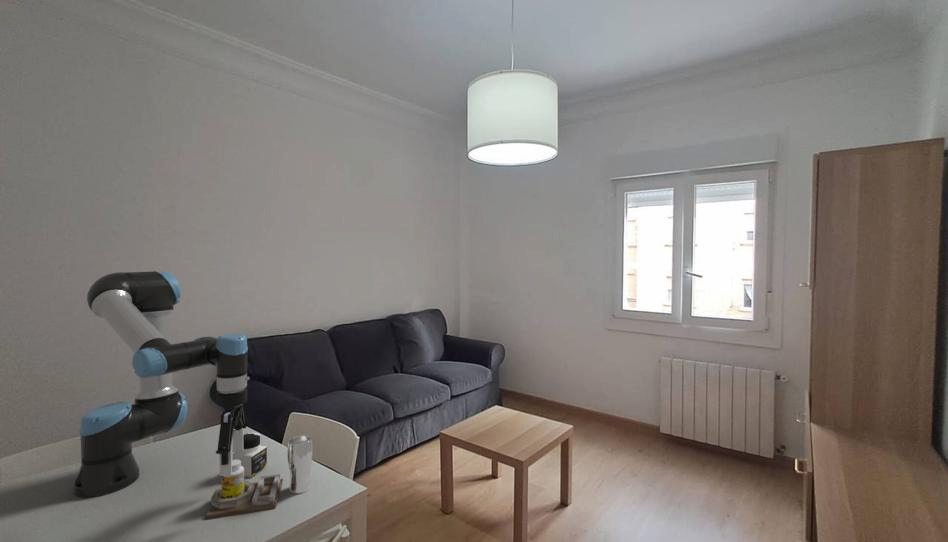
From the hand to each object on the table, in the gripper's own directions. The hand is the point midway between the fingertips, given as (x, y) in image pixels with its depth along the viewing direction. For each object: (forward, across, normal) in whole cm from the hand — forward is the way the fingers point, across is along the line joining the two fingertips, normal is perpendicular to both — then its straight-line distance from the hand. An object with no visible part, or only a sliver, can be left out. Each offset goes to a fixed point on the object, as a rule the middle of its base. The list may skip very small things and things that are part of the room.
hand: (232, 462), depth 119 cm
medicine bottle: (+12, +16, -1) cm, 20 cm away
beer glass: (+11, +1, -18) cm, 21 cm away
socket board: (+11, 0, -4) cm, 12 cm away
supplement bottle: (+10, 0, 0) cm, 10 cm away
